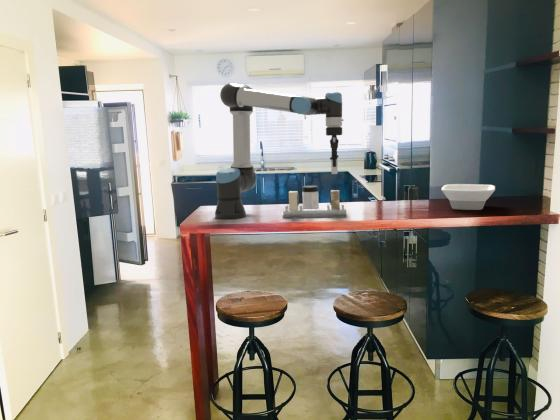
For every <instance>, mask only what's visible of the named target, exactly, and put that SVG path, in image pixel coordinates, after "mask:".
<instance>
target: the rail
mask: <svg viewBox="0 0 560 420" xmlns="http://www.w3.org/2000/svg"><path fill="white" fill-rule="evenodd" d="M299 199H300V195H299V192H298V190H294V191H293V190H289V191H288V204H285V206H284V208H285V209H283V214H282V219H309V218H312V219H313V218H314V219H315V218H316V219H319V218H322V219H323V218H325V219H326V218H347V216H348V215H347V208H345V203H341V208H340V210H331V205H330V203H327V204H326V208H319V209H303V204H300V201H299Z"/></svg>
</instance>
